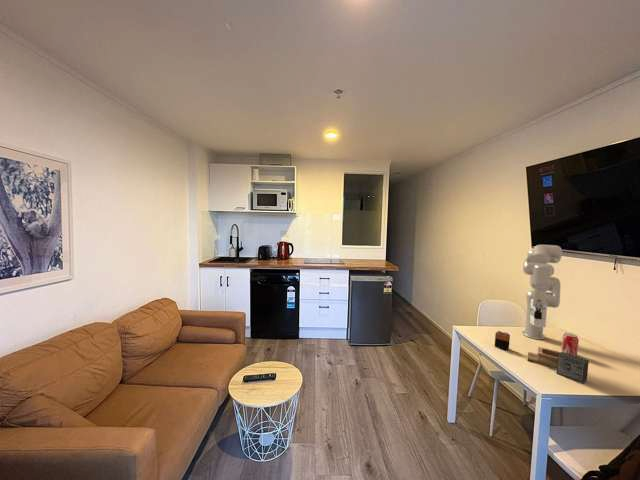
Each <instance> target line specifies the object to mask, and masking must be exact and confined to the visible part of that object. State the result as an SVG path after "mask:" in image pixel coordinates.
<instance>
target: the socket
mask: <svg viewBox="0 0 640 480" xmlns="http://www.w3.org/2000/svg"><path fill="white" fill-rule="evenodd" d="M561 352H562V351H559V350H558V351H557V350H553V349H549V348H547V347H546V348H545V347H541V346H538V348H537V353H535V352H530V351H528V352H527V362H531V363H534V364H537V363H538V364H539V365H541V366H545V367H549V368H553V369H556V370H557V363H558V354H559V353H561ZM538 364H537V365H538Z"/></svg>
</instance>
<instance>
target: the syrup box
mask: <svg viewBox="0 0 640 480" xmlns="http://www.w3.org/2000/svg"><path fill="white" fill-rule="evenodd" d="M540 303H541V302H540ZM537 304H538V303H537ZM537 304H536V305H537ZM540 307H541V306H540ZM535 308H536V306H533V299H531V308H530V323H531V324H532V325H534V326H536V327H543V328H546V325H547V311H548V310H547V309H548V307H547V302H545V303H544V307H543V308H542V311H541V312H542V318H541V320H540V319H535V318H534V313H535ZM540 309H541V308H540Z"/></svg>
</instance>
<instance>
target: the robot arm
mask: <svg viewBox="0 0 640 480" xmlns="http://www.w3.org/2000/svg"><path fill="white" fill-rule="evenodd" d="M562 256H563V250H562V248H561V246H560V245H556V244H555V245H554V244H536V245H535V246H534V247H533V248H532V249H531V250H530V249H529V250H528V252H527V256H526V257H525V259H524V261H523V265H522V266H523V267H522V270H523V273H524V274H525V275H529V276H530V277H529V285H530V287H531V288H532V289H533V290H529V291H527V292H526V295H525V296H526V316H525V317H526V318H525V329H524V330H523V331H522V332H521V334H522V335H523V336H525V337H527V338H530V339H534V340H540V341H541V340H542V341H543V340H546V336H545V335H544V327H536V326H534V325H532V324H531V323H530V308H531V299H533V306H536V308H535V313H534V318H535V319H540V320H541V318H542V312H541V311H542V308H543V307H544V303H545V302H547V308H553V309H554V308H555V309H556V308H558V307H559V306H560V304H561V303H560V302H561V281H560V279H559V278H557V277H555V276H554V277H553V275H554V274H555V267H554V266H553V265H551V264H559V262H560V261H561V259H562ZM540 302H541V303H540ZM537 303H538V304H537ZM536 304H537V305H536ZM540 306H541V307H540ZM540 308H541V309H540Z"/></svg>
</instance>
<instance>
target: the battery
mask: <svg viewBox="0 0 640 480" xmlns="http://www.w3.org/2000/svg"><path fill="white" fill-rule="evenodd" d="M494 333H495V334H494V335H495V337H494V347H495V348H497V349H501V350H504V351H508V350H509V349H510V339H511V335H510V333H508V332H505V331H504V332H503V331H501V330H498V331H496V332H494Z"/></svg>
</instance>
